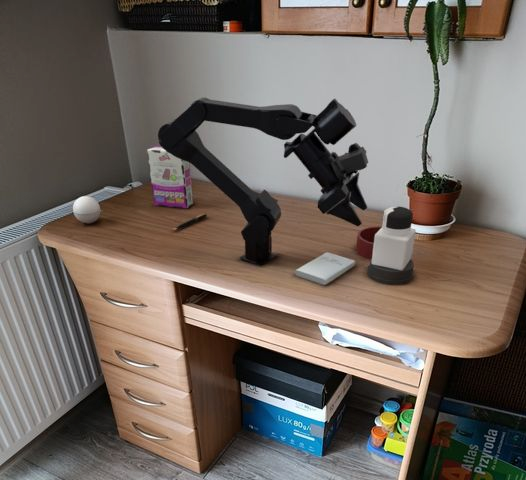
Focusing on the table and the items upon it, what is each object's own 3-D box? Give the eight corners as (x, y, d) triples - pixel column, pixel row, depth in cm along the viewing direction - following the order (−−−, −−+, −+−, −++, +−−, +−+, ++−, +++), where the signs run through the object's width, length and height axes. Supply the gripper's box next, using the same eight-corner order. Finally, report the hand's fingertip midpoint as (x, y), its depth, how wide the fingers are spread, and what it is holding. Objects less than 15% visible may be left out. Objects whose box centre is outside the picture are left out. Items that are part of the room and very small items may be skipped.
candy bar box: (194, 203, 157) (189, 147, 148) (187, 209, 153) (182, 151, 144) (161, 200, 160) (154, 145, 150) (153, 205, 156) (146, 149, 146)
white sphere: (70, 225, 143) (64, 199, 139) (87, 216, 149) (82, 191, 145) (99, 230, 140) (93, 204, 136) (115, 221, 146) (111, 195, 141)
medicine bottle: (411, 258, 116) (420, 206, 109) (402, 271, 111) (411, 217, 104) (380, 252, 119) (387, 201, 112) (370, 264, 114) (377, 212, 107)
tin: (392, 265, 121) (394, 249, 118) (347, 253, 126) (349, 237, 124) (412, 248, 128) (415, 233, 126) (369, 237, 134) (371, 222, 132)
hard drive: (295, 275, 117) (325, 257, 124) (325, 286, 112) (355, 266, 120) (295, 269, 116) (325, 251, 123) (325, 279, 111) (355, 260, 119)
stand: (402, 289, 111) (404, 276, 109) (358, 276, 116) (360, 264, 114) (421, 271, 118) (423, 259, 116) (379, 260, 123) (380, 248, 121)
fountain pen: (173, 233, 138) (173, 227, 137) (170, 232, 139) (170, 226, 138) (208, 217, 148) (208, 212, 147) (205, 216, 148) (205, 211, 147)
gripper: (340, 146, 96) (389, 210, 100) (354, 122, 110) (397, 179, 115) (296, 183, 102) (345, 242, 107) (315, 156, 117) (357, 209, 121)
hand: (362, 216), depth 112 cm, fingers open, 9 cm apart
